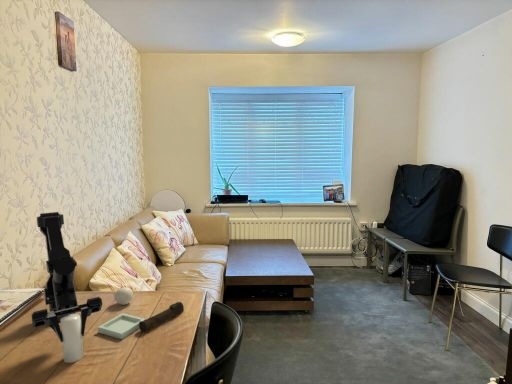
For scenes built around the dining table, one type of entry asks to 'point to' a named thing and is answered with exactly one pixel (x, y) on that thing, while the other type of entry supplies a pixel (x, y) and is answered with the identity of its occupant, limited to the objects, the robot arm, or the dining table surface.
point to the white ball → (123, 295)
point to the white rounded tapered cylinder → (71, 338)
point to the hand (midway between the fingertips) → (72, 338)
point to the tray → (120, 326)
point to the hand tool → (161, 317)
